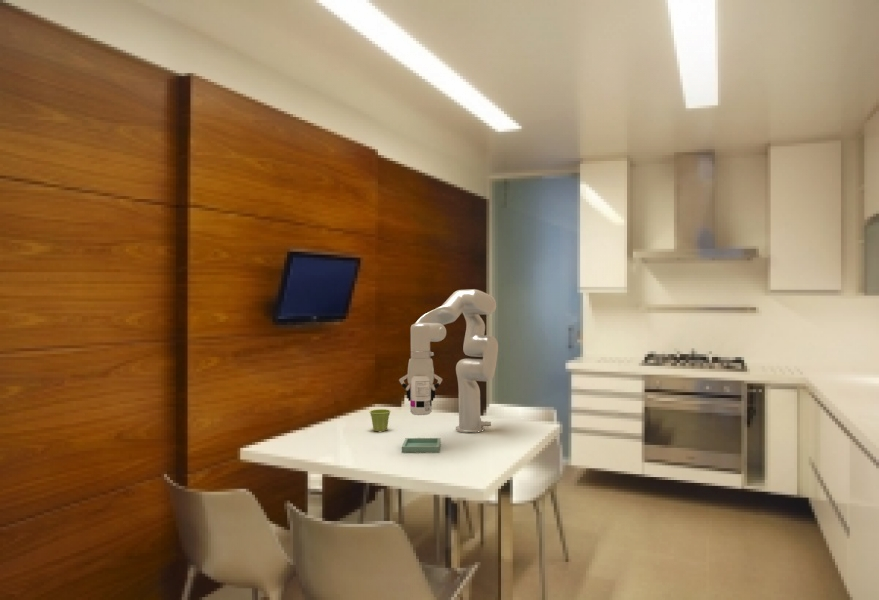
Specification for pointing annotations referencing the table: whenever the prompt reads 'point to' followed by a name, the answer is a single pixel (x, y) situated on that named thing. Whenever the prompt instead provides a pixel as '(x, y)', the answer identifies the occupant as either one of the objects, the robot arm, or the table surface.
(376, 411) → the plant pot
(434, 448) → the tray
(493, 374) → the robot arm
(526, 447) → the table surface
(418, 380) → the supplement can
